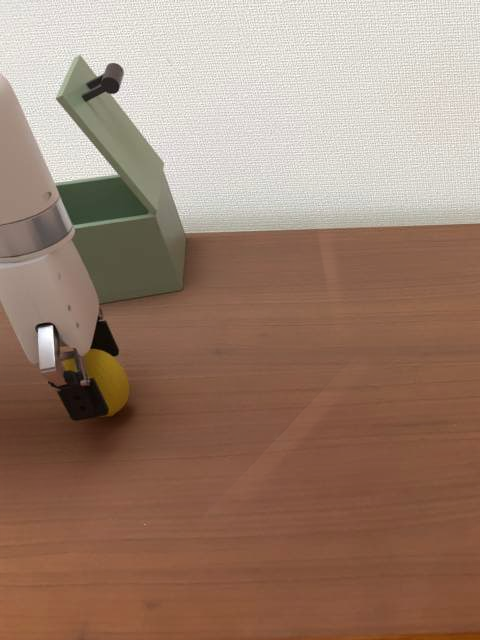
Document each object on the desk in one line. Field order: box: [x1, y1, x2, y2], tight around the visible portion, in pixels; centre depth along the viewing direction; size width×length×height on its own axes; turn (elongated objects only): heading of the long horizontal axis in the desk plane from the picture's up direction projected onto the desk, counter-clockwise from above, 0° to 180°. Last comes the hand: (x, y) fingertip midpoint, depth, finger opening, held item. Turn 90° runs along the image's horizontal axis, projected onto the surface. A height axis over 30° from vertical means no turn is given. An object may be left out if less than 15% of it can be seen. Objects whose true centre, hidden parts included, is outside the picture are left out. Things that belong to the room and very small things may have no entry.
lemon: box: [63, 349, 131, 418], centre depth 80 cm, size 6×6×8 cm
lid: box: [55, 54, 165, 214], centre depth 93 cm, size 15×14×5 cm
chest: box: [54, 169, 187, 305], centre depth 100 cm, size 14×14×10 cm
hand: (97, 385), depth 80 cm, fingers open, 9 cm apart
